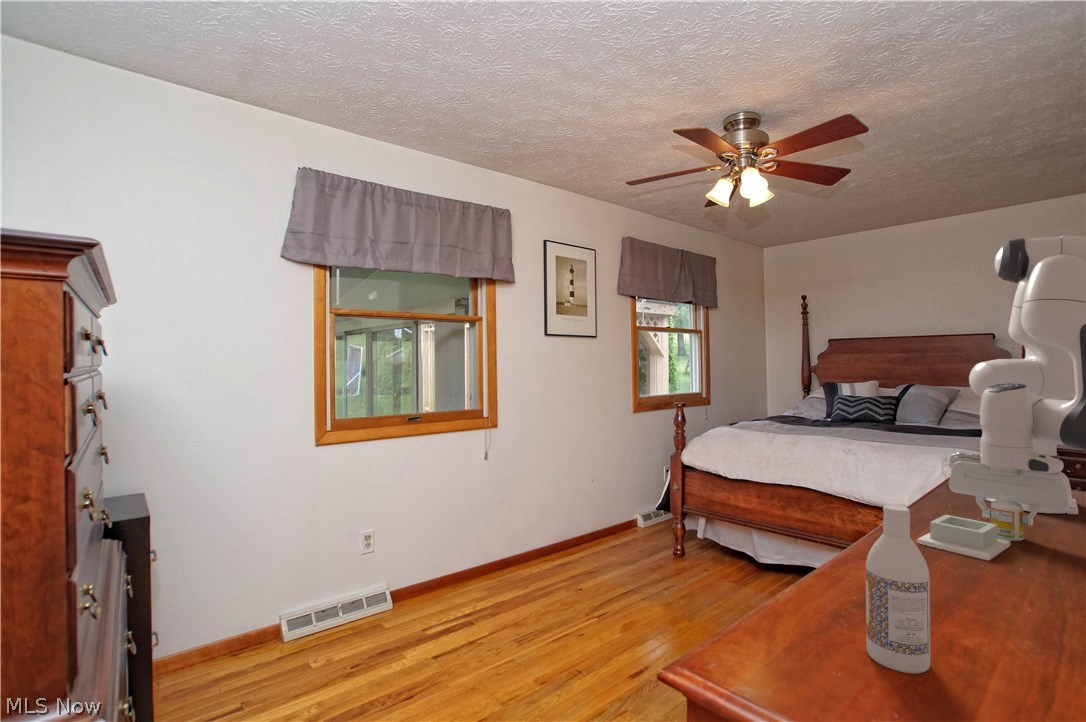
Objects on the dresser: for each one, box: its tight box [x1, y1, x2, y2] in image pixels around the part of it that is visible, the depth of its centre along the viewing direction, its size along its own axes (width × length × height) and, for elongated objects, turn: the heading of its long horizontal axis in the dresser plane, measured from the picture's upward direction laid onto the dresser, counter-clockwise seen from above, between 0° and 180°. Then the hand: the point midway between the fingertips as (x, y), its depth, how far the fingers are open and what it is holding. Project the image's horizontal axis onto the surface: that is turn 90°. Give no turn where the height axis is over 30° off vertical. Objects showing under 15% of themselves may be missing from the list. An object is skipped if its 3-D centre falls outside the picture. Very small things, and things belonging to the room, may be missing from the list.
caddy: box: [916, 514, 1012, 561], centre depth 111 cm, size 14×12×4 cm
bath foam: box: [865, 504, 931, 675], centre depth 69 cm, size 7×7×20 cm
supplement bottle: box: [990, 494, 1025, 542], centre depth 116 cm, size 5×5×10 cm
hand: (1006, 520), depth 116 cm, fingers closed on supplement bottle, 5 cm apart
